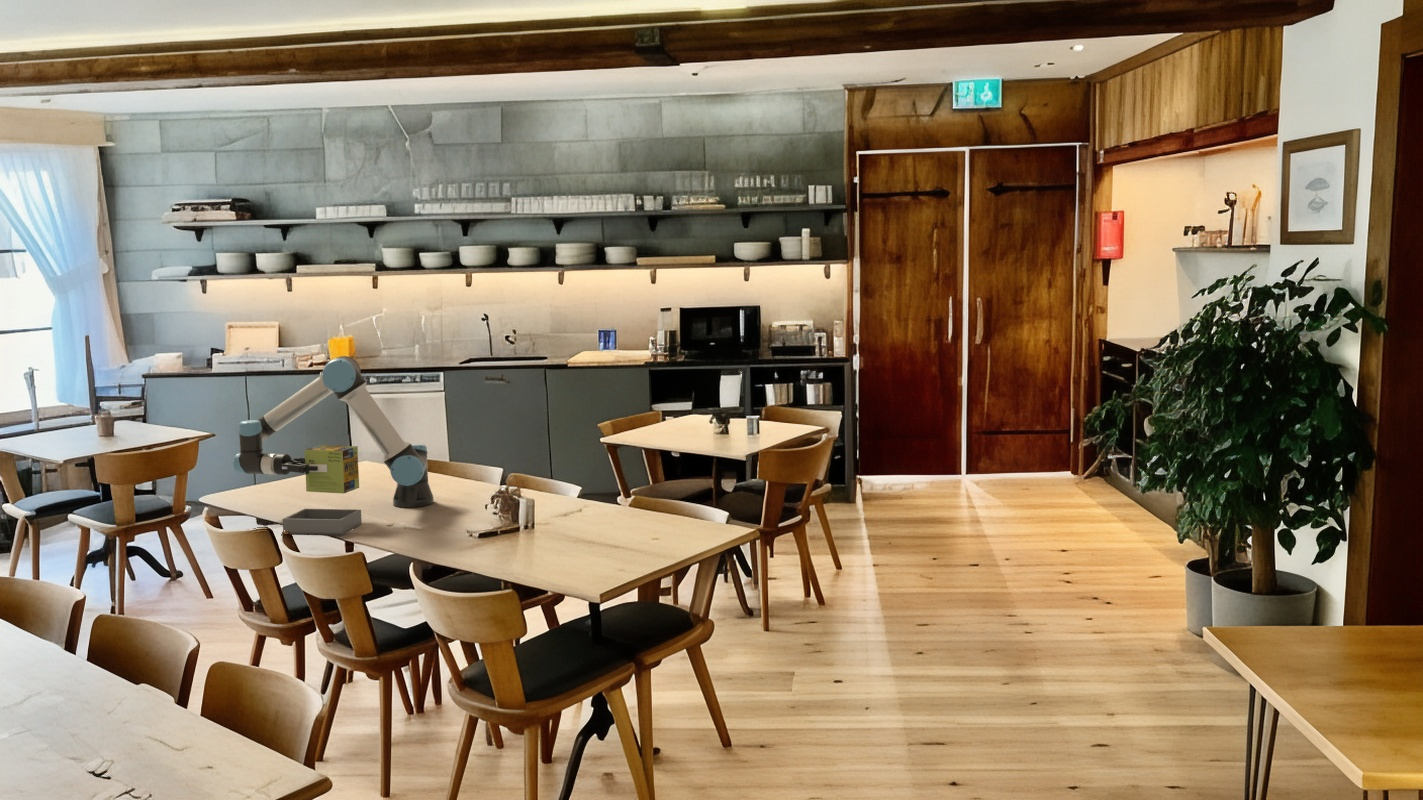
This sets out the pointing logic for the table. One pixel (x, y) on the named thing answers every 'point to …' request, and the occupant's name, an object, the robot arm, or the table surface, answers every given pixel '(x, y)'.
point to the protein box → (333, 469)
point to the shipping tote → (322, 522)
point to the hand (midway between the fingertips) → (334, 465)
